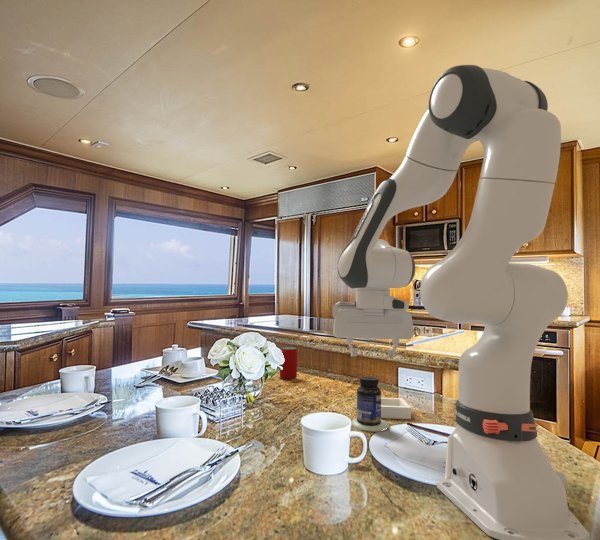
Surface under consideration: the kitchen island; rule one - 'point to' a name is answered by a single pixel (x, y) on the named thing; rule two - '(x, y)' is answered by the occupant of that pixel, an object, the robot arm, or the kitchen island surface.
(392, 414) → the pocket
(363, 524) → the kitchen island surface
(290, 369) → the beverage can
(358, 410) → the pill bottle
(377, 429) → the coaster
